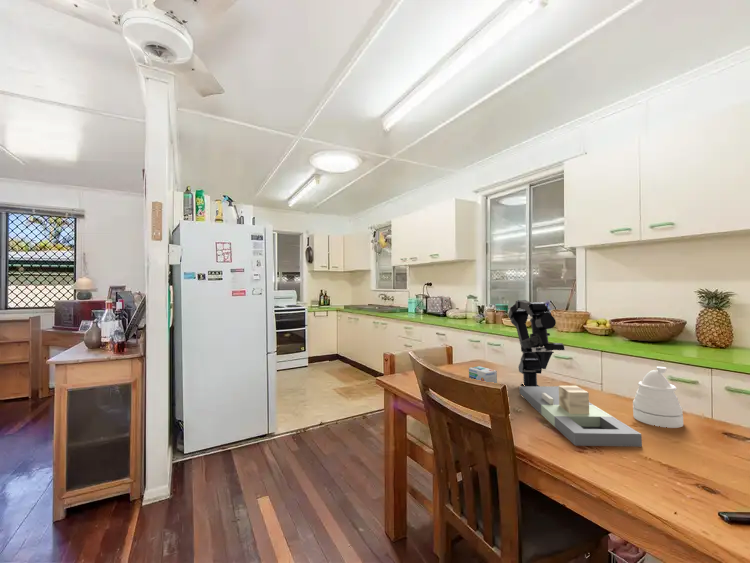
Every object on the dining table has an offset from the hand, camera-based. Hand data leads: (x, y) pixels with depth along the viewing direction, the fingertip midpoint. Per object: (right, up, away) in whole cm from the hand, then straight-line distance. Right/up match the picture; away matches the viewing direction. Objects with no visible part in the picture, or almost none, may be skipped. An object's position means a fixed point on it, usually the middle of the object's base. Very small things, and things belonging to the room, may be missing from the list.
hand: (544, 369), depth 139 cm
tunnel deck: (-2, -11, -21) cm, 23 cm away
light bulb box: (-23, -13, +6) cm, 27 cm away
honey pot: (+25, -11, -26) cm, 38 cm away
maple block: (-2, -8, -24) cm, 25 cm away
